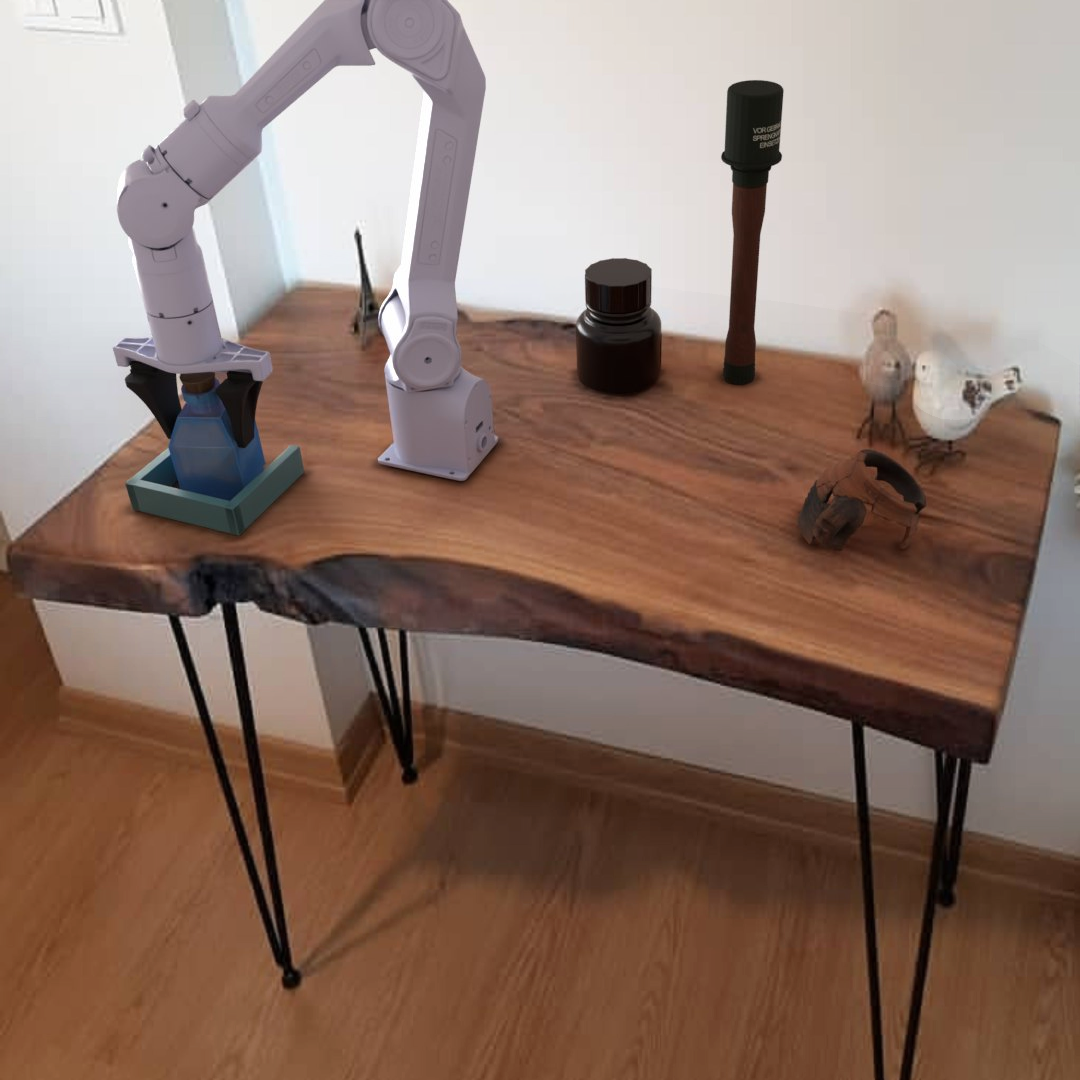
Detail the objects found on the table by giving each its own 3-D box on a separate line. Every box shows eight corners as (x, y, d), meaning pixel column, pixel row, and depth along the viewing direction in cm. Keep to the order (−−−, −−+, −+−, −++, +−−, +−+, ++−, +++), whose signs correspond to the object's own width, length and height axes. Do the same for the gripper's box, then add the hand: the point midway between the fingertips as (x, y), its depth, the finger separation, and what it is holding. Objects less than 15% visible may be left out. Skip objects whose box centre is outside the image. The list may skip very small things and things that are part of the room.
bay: (304, 472, 119) (299, 446, 117) (239, 536, 111) (232, 509, 109) (203, 449, 123) (196, 424, 121) (132, 509, 115) (124, 483, 113)
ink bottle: (678, 368, 132) (681, 264, 124) (639, 406, 126) (640, 298, 119) (599, 349, 136) (598, 247, 129) (558, 384, 130) (554, 279, 123)
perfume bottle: (265, 463, 120) (240, 356, 112) (247, 502, 115) (220, 393, 107) (204, 462, 120) (175, 356, 113) (183, 500, 116) (152, 392, 108)
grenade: (729, 395, 127) (745, 100, 109) (701, 372, 131) (712, 84, 113) (776, 382, 128) (799, 90, 110) (747, 359, 133) (765, 74, 115)
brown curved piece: (810, 494, 113) (866, 428, 108) (890, 563, 111) (950, 499, 106) (761, 533, 103) (820, 463, 98) (847, 610, 101) (911, 542, 96)
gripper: (275, 290, 107) (301, 423, 115) (129, 277, 110) (163, 408, 118) (239, 326, 101) (268, 464, 110) (86, 312, 105) (125, 446, 113)
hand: (211, 438), depth 114 cm, fingers closed on perfume bottle, 7 cm apart
